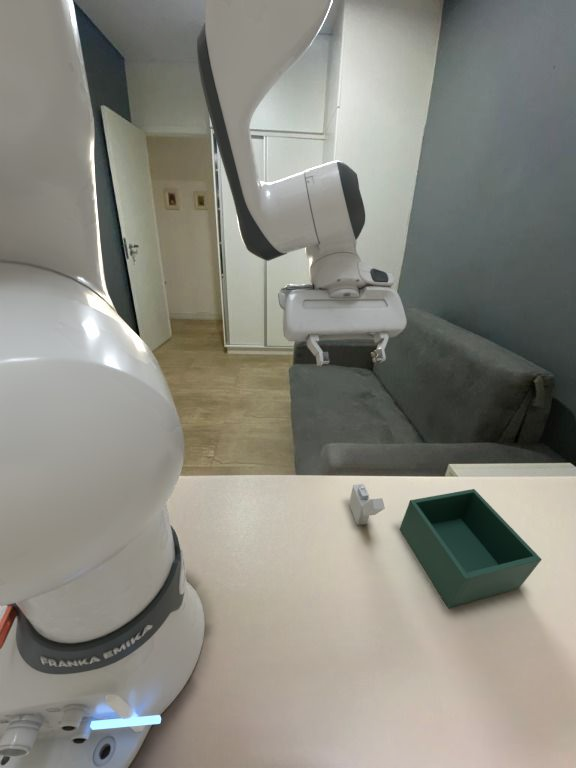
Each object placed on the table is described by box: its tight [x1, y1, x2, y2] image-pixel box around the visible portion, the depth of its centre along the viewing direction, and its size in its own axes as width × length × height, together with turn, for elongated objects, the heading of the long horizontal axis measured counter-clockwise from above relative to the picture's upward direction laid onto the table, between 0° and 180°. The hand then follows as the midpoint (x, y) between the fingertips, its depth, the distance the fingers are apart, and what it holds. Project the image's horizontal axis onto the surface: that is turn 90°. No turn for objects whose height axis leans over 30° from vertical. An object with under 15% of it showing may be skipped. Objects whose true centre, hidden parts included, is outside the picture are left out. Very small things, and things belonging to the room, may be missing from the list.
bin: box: [399, 488, 543, 609], centre depth 43 cm, size 11×11×6 cm
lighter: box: [348, 483, 386, 526], centre depth 46 cm, size 7×2×8 cm, turn 8°
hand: (352, 363), depth 48 cm, fingers open, 8 cm apart
